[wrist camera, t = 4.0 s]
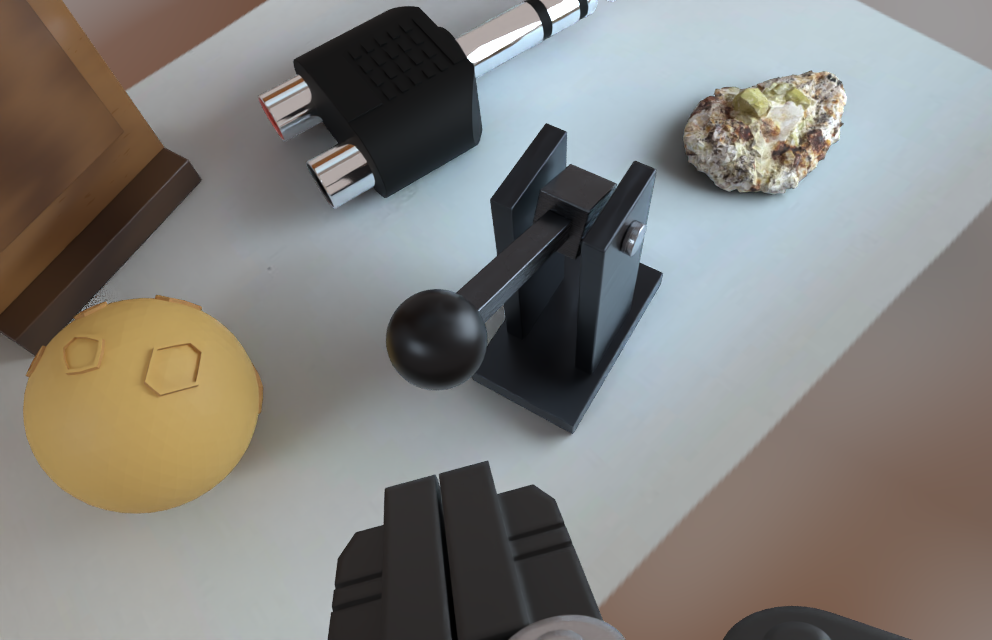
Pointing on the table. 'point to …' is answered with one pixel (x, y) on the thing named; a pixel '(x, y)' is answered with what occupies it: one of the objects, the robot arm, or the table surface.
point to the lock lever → (491, 287)
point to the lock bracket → (568, 292)
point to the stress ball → (141, 404)
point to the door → (69, 172)
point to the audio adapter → (402, 92)
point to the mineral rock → (766, 131)
